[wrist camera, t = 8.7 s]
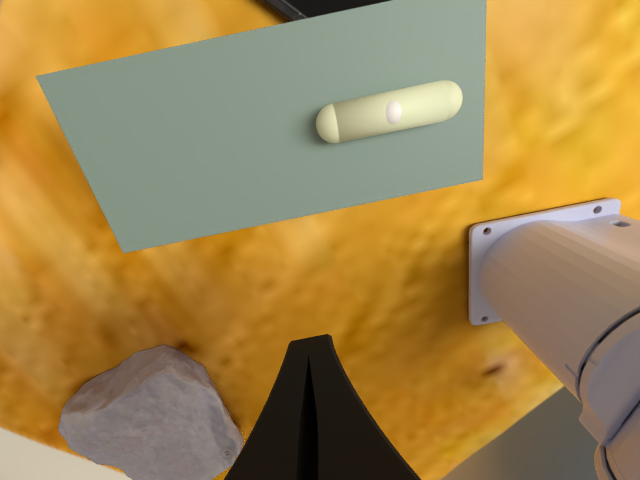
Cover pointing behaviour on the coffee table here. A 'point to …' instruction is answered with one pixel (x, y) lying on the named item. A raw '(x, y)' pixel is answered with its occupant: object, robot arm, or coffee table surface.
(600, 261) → the robot arm
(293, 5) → the phone
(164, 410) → the stone block
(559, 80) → the coffee table surface
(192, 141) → the plate
